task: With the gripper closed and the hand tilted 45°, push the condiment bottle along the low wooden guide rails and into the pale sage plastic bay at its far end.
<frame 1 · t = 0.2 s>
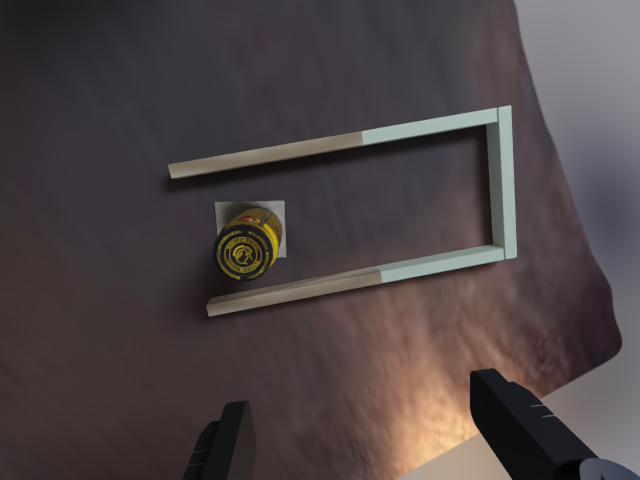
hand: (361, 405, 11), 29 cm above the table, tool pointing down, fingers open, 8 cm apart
condiment: (251, 229, 39), on the table
wooden guide rails: (282, 224, 39), on the table
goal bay: (428, 197, 39), on the table
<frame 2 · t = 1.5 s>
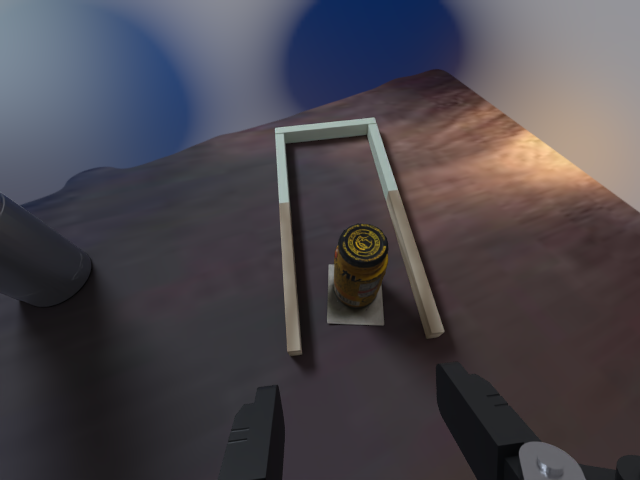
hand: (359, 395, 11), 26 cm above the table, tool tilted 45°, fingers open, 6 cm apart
condiment: (354, 294, 42), on the table
wooden guide rails: (350, 267, 44), on the table
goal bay: (332, 170, 54), on the table
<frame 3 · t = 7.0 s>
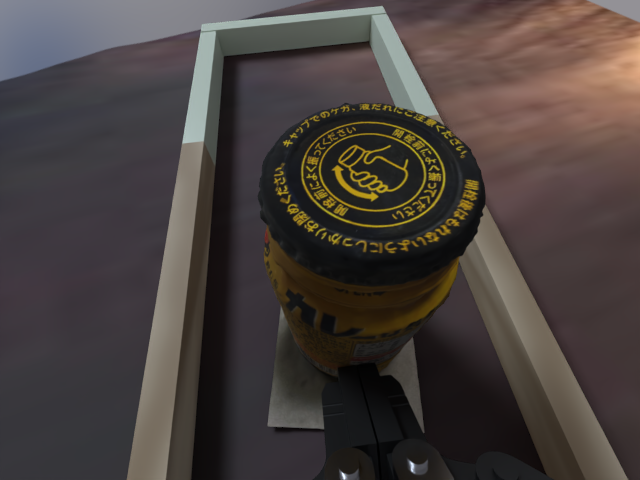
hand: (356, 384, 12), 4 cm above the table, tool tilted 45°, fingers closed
condiment: (344, 339, 17), on the table, touching gripper
wooden guide rails: (335, 283, 18), on the table
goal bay: (304, 94, 28), on the table
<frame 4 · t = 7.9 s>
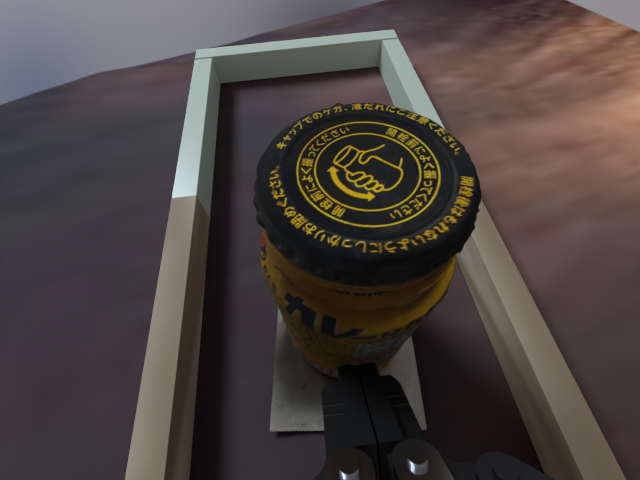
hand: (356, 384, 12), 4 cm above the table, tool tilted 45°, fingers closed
condiment: (343, 339, 17), on the table, touching gripper
wooden guide rails: (348, 373, 16), on the table
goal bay: (308, 130, 26), on the table
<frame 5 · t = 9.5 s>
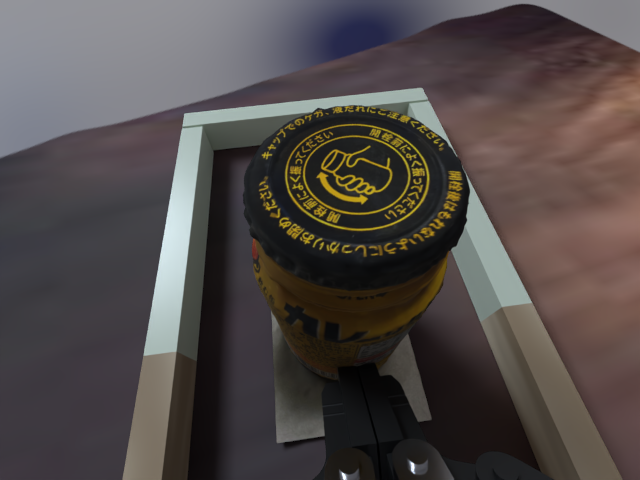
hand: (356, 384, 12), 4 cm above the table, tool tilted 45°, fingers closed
condiment: (340, 340, 17), on the table, touching gripper
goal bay: (322, 221, 21), on the table
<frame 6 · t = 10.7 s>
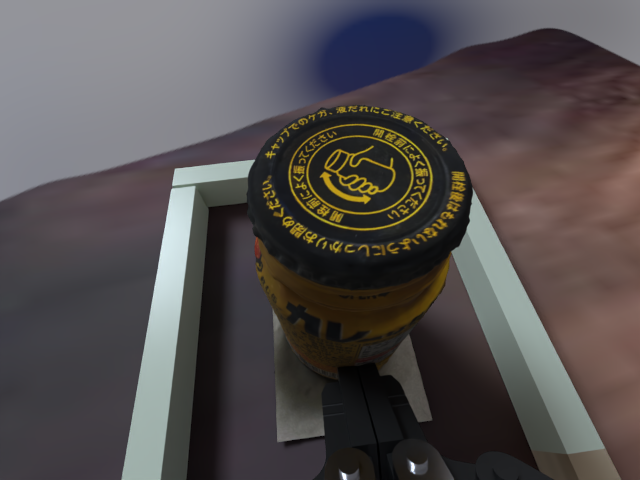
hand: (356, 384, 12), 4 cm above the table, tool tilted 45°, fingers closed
condiment: (341, 340, 17), on the table, touching gripper
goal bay: (334, 303, 18), on the table
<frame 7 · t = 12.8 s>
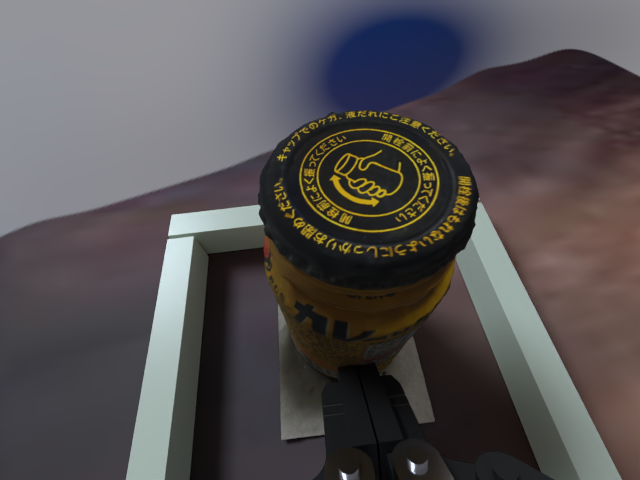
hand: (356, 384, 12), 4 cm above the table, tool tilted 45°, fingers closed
condiment: (345, 341, 17), on the table, touching gripper
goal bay: (347, 373, 16), on the table
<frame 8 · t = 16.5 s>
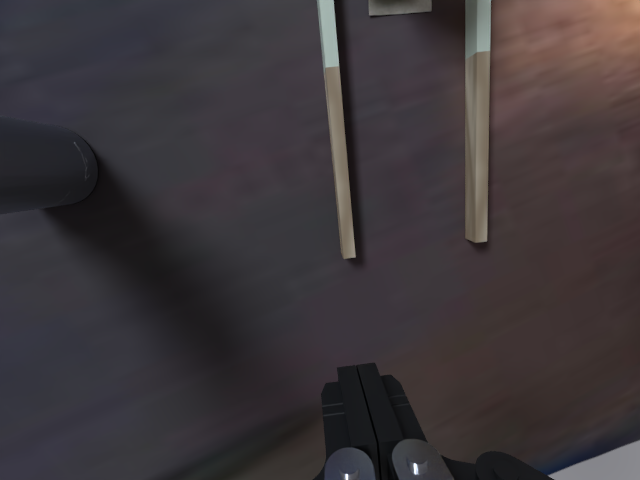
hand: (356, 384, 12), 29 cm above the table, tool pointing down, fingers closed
wooden guide rails: (405, 161, 39), on the table
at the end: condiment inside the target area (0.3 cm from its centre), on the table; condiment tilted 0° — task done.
